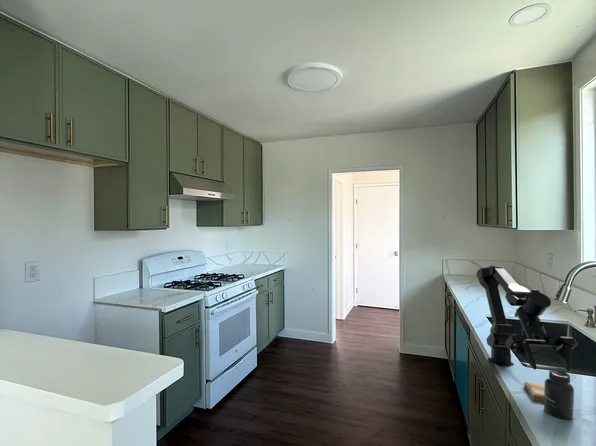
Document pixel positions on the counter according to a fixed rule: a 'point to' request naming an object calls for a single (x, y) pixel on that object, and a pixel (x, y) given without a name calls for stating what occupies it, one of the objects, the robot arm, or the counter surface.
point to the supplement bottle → (559, 395)
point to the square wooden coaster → (535, 390)
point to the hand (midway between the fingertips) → (551, 370)
